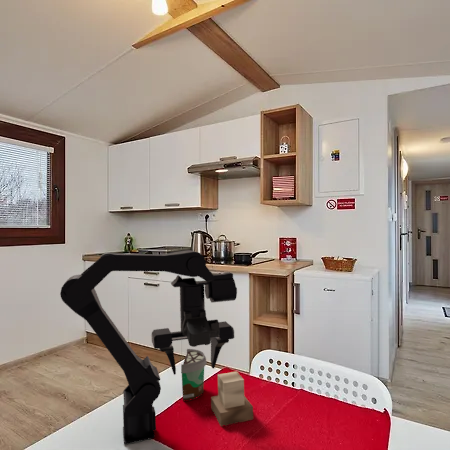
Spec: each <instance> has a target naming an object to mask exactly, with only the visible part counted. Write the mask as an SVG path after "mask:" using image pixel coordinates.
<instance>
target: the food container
mask: <svg viewBox="0 0 450 450" xmlns="http://www.w3.org/2000/svg"><path fill="white" fill-rule="evenodd" d="M185 355H186V356H185V358H184V359H183V360H184V361H183V364H180V365H181V366H180V367H181V368H180V369H181V371H180V373H181V386H182V401H183V402H185V401H184V400H189V401H191V400H190V399H193V400H195V399H194V398H196V397H198V396H200V395H201V394H202V393H203V394H204V387H205V384H204V383H205V382H204V380H205V367H206V366H207V363H208V362H207V357H206V355H205V353H204V352H203V351H201V350H199V349H193V348H187V349H186V354H185ZM203 394H202V395H203ZM202 395H201V396H202ZM201 396H200V397H201ZM198 398H199V397H198ZM196 399H197V398H196Z"/></svg>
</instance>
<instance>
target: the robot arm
mask: <svg viewBox="0 0 450 450" xmlns="http://www.w3.org/2000/svg"><path fill="white" fill-rule="evenodd" d="M111 272H165V273H171V274H175V275H176V277H175V279H173V280H172V281H171V283H170V284H171V286H172V287H173V288H179V304H180V305H179V313H180V314H179V317H180V331H171V330H170V328H168V327H166V328H165V327H164V328H156V329H153V330H152V331H151V343H152V345H153V348H154V350H155V349H156V350H158V349H159V352H165V354H166V356H167V359H168V361H169V365H170V368H171V371H172V374H173V375H174V376H175V375H176V374H177V372H176V371H177V368H176V360H175V354H174V351H175V350H174V346H173V342H174V341H184V340H187V341H188V345H189V346H190V347H193V348H194V347H195V348H196V347H198V346H203V345H205V346H208V345H210V364H211V368H212V369H215V368H216V364H217V361H218V358H219V355H220V352H221V350H222V347H223V346H224V345H225V344H228V343H230V340H234V339H235V329H234V327H233V326H232V325H231V324H230V323H228V322H227V321H219V320H218V319H211V320H209V319H208V318H207V313H206V312H207V311H206V306H205V304H206V302H205V297H206V299H207V300H208V299H209V301H210V303H222V302H223V303H224V302H231V301H235V300H236V299H237V296H238V288H237V286H236V282H235V279H234V273H232V272H228V271H227V272H223V273H213V272H211V270H210V269H209V268H208V267H207V262H206V259H205V256H203V254H202V253H200V252H198V251H194V250H191V249H190V250H182V251H181V250H180V251H175V252H170V253H164V254H160V253H159V254H157V253H156V254H153V253H152V254H151V253H149V254H148V253H147V254H145V253H144V254H143V253H114V252H109V251H108V252H107V251H106V252H105V253H103V254H101V255H100V256H99V258H98V259H97V260H96V261H95V262H94V263H92V264H91V265H90V266H88V268H86V269H85V270H84V271H83V272H82V273H81V274H75V275H72V276H70V277H69V278H68V279H67V280H66V281H65V282H64V284H63V285H62V287H61V288H60V289H61V290H60V294H59V295H60V299H61V301H62V302H63V303H64V304H65V305H66V306H68V307H69V309H71V311H73V312H74V314H76V315H78V316H79V317H80V318H82V319H84V320H85V321H86V322H87V323H88V325H89V326H90V327H91V329H92V330H93V332H95V335H96V336H97V337H98V339H99V340H100V341H101V342H102V344H103V345H104V346H105V348H106V349H107V351H108V352H109V353H110V355H111V356H112V357H113V359H114V360H115V362H116V363H117V365H118V366H119V367H120V369H121V370H122V371H123V373H124V376H125V378H126V381H127V384H128V385H127V386H126V387H125V388H124V389H123V391H122V393H123V405H122V421H123V426H122V435H123V437H122V438H123V444H124V445H128V444H134V443H138V442H142V441H147V440H151V439H154V438H155V437H156V436H155V431H156V430H157V423H156V422H157V421H156V410H155V407H154V406H153V404H154V402H155V401H156V400H157V399H158V398H159V396H160V394H161V390H162V388H161V384H160V380H161V376H160V374H159V370H158V368H157V366H154V365H153V364H152V362H151V359H150V357H149V356H148V355H146V356H145V357H144V359H142V357H139V356H138V355H137V354H136V352H135V351H134V350H133V348H132V346H130V344H129V343H128V342H127V339H125V337H124V336H123V335H122V333H121V331H120V330H119V328H118V327H117V326H116V324H115V322H113V320H112V319H111V318H110V316H109V315H108V313H107V312H106V310H105V309H104V308H103V306H102V304H101V301H100V298H99V296H98V294H97V291H96V289H95V288H96V287H97V286H98V285H99V284H100V283H101V282H102V281H103V280H105V278H106V277H107V276H108V275H109V274H111ZM181 276H186V277H187V278H185V277H184V278H182V277H181ZM197 277H198V278H201V279H203V280H196V278H197Z"/></svg>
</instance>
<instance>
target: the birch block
mask: <svg viewBox="0 0 450 450" xmlns="http://www.w3.org/2000/svg"><path fill="white" fill-rule="evenodd" d="M217 396H218V399H219V401H220V402H221V404H222V406H223V407H224V409H227V408H231V407H236V406H241V405H245V403H244V396H245V379H244V378H243V377H242V375H240V373H239V372H238V371H231V372H227V373H226V372H225V373H220V374H219V373H218V374H217Z"/></svg>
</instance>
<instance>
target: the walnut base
mask: <svg viewBox="0 0 450 450" xmlns="http://www.w3.org/2000/svg"><path fill="white" fill-rule="evenodd" d="M244 403H245V405H241V406H236V407H231V408H227V409H224V407H223V406H222V404H221V402H220V401H219V399H218V395H214V396H211V397H210V406H211V407H210V408H211V409H210V410H211V411H212V413H213V412H214V413H213V415H214V414H215V415H214V416H216V417H215V418H217V419H216V421H217V422H218V424H219V426H220V427H224V426H223V425H225V426H228V425H229V424H230V425H234V424H238V422H239V423H244V422H247V421H252V420H254V407H253V405H252V403H251V402H250V401H249V400H248V398H247V397H246V396H245V395H244ZM233 423H234V424H233ZM230 425H229V426H230Z"/></svg>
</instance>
